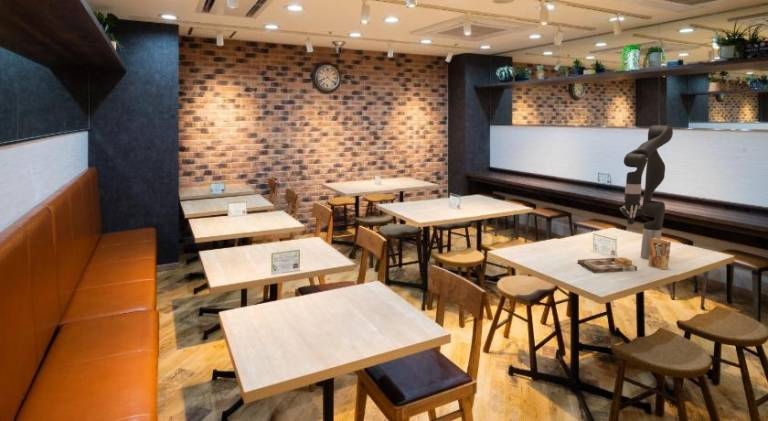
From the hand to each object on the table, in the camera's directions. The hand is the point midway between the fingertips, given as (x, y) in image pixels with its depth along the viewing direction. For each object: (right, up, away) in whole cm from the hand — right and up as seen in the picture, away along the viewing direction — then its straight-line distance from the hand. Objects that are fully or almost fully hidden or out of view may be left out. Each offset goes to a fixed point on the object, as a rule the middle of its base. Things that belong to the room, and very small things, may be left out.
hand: (630, 224), depth 256 cm
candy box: (+18, -24, +6) cm, 30 cm away
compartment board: (-9, -23, +8) cm, 26 cm away
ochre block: (-2, -22, +5) cm, 23 cm away
